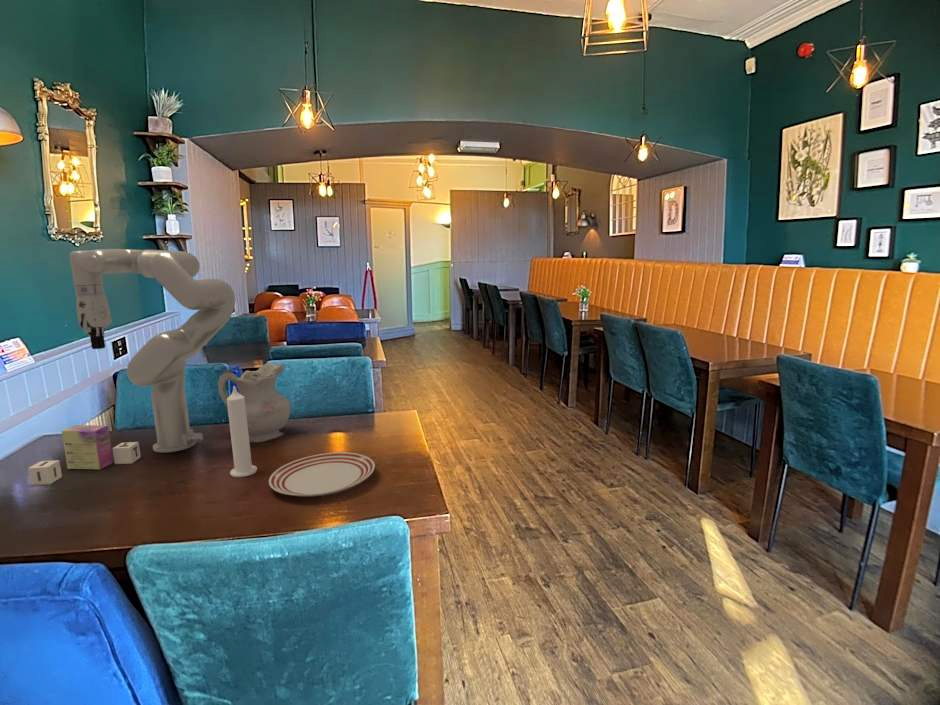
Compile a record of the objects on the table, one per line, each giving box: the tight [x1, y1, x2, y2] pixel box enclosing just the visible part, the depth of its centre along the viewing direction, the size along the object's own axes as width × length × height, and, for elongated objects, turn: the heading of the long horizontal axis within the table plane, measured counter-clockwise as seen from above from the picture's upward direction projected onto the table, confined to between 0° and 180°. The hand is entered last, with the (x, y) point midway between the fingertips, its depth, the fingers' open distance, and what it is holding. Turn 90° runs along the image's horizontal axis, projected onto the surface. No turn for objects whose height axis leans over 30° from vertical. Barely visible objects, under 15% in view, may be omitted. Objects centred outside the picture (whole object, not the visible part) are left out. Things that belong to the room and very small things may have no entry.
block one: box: [27, 459, 63, 486], centre depth 154 cm, size 5×5×5 cm
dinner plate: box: [268, 451, 376, 497], centre depth 148 cm, size 28×27×3 cm
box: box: [61, 424, 114, 471], centre depth 163 cm, size 10×6×12 cm, turn 84°
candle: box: [226, 385, 258, 478], centre depth 154 cm, size 7×7×25 cm
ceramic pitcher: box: [217, 362, 291, 443], centre depth 183 cm, size 22×20×25 cm
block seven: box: [111, 441, 142, 465], centre depth 167 cm, size 5×5×5 cm
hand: (98, 348), depth 177 cm, fingers closed
